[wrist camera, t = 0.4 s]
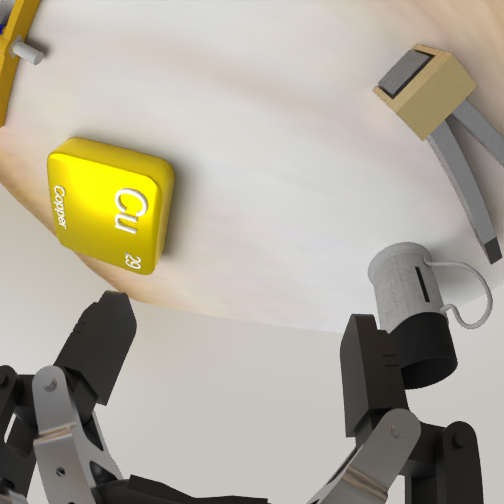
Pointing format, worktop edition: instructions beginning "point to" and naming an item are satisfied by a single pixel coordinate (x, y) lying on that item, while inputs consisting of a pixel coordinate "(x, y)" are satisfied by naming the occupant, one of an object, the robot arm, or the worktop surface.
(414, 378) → the glass holder
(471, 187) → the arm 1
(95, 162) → the element tile
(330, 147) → the worktop surface
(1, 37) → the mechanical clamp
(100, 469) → the robot arm
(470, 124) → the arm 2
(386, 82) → the plate
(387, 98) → the tan framed block
